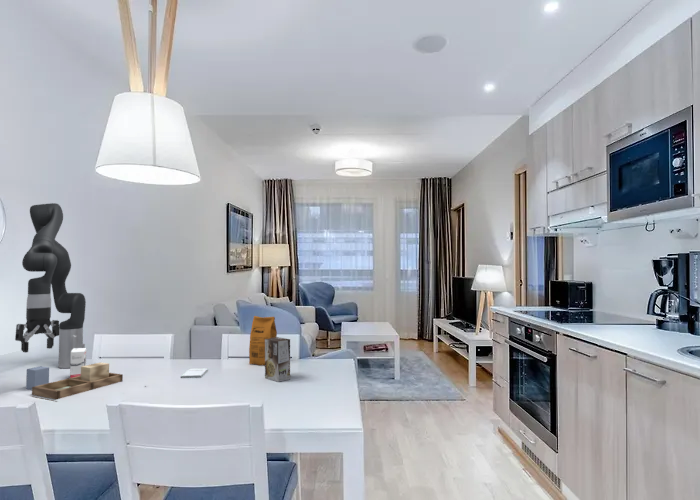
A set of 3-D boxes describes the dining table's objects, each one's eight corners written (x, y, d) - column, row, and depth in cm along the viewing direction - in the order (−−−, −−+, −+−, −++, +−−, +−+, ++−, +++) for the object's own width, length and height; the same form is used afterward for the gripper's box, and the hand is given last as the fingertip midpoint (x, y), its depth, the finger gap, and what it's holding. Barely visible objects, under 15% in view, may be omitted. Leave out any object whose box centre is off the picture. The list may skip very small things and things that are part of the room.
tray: (99, 379, 180) (99, 371, 180) (122, 383, 175) (122, 374, 175) (31, 396, 157) (32, 387, 157) (56, 401, 151) (56, 391, 151)
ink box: (84, 380, 179) (84, 350, 179) (69, 381, 177) (70, 351, 177) (86, 375, 187) (86, 347, 187) (72, 376, 184) (72, 348, 185)
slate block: (40, 387, 169) (40, 366, 169) (48, 389, 167) (49, 367, 167) (26, 391, 164) (26, 369, 164) (34, 392, 162) (35, 370, 162)
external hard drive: (180, 379, 182) (188, 372, 195) (201, 379, 183) (208, 371, 196) (180, 375, 183) (188, 368, 195) (201, 375, 183) (208, 368, 196)
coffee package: (256, 360, 217) (256, 314, 217) (279, 362, 213) (279, 315, 213) (245, 364, 207) (245, 316, 208) (269, 366, 203) (269, 317, 204)
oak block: (100, 380, 176) (100, 362, 176) (108, 381, 174) (109, 363, 174) (80, 385, 169) (80, 366, 169) (89, 386, 167) (89, 367, 167)
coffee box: (290, 379, 181) (291, 339, 181) (278, 382, 176) (278, 341, 177) (276, 375, 187) (277, 336, 188) (264, 378, 182) (264, 338, 183)
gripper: (52, 304, 174) (50, 346, 174) (11, 307, 161) (10, 352, 161) (64, 305, 171) (63, 347, 171) (24, 308, 158) (23, 354, 158)
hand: (37, 350), depth 166 cm, fingers open, 8 cm apart
